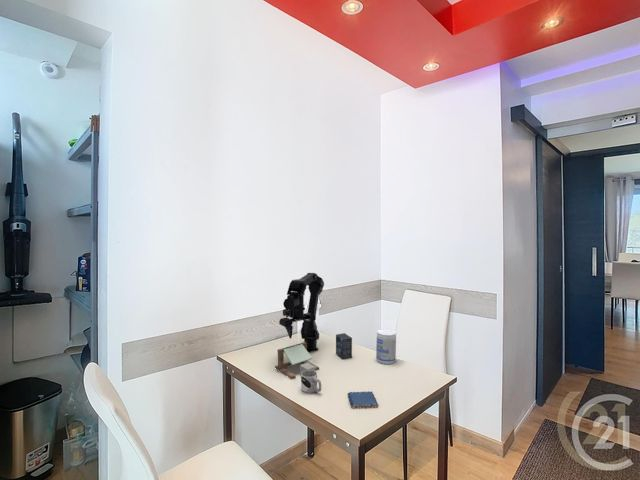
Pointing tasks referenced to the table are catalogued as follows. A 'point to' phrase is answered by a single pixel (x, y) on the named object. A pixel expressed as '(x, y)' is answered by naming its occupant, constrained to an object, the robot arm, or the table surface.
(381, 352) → the supplement tub
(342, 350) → the box
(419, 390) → the table surface
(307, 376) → the mug
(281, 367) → the frame
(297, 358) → the trapdoor
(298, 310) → the robot arm
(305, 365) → the grey rectangular block
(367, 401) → the woven mat
